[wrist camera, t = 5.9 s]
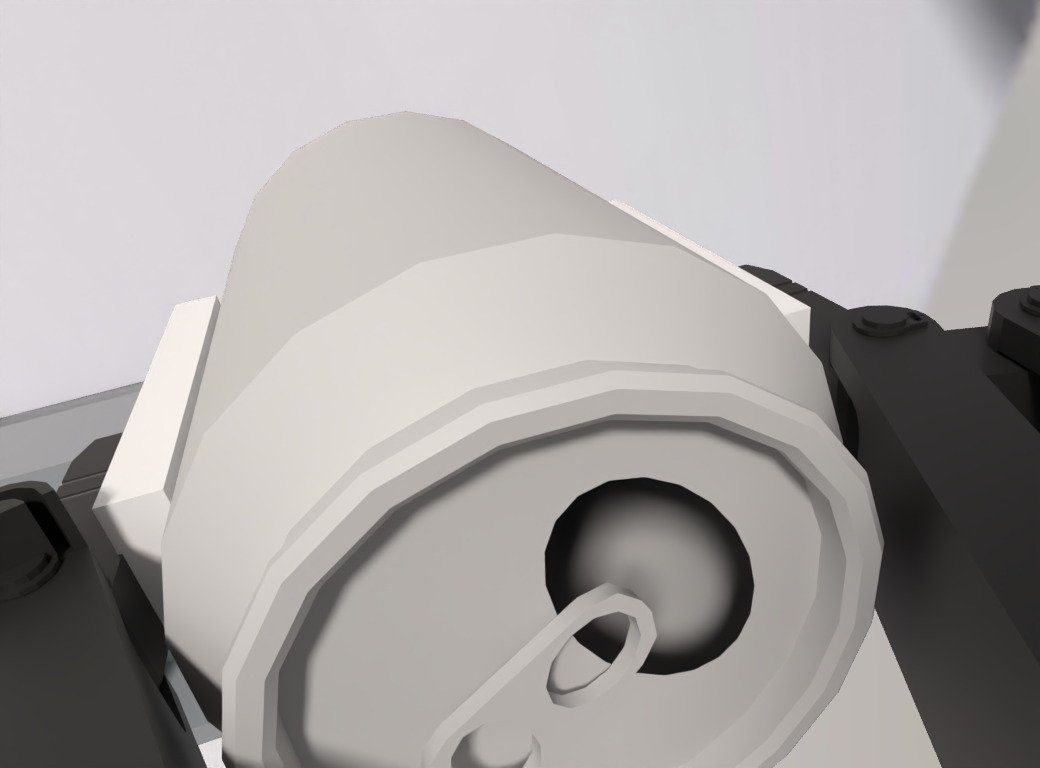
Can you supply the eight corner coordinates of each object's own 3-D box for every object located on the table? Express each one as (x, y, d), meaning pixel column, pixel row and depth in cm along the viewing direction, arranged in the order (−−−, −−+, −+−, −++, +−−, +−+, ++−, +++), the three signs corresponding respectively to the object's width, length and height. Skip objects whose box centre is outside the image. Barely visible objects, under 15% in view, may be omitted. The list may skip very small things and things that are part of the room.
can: (615, 296, 18) (1031, 653, 8) (386, 473, 19) (502, 1027, 8) (436, 27, 14) (793, 48, 4) (155, 258, 15) (-153, 791, 5)
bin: (459, 300, 35) (488, 348, 30) (515, 554, 44) (544, 626, 39) (-18, 422, 32) (-77, 501, 27) (142, 675, 40) (119, 771, 35)
